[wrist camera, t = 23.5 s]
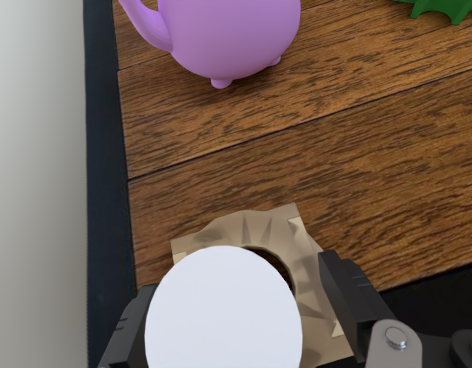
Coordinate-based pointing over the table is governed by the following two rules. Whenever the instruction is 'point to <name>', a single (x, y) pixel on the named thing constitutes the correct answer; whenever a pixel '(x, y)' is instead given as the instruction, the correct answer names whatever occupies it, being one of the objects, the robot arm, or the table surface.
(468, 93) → the table surface
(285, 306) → the tube
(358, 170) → the table surface
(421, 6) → the pipe clamp
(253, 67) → the teapot
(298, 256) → the socket pad
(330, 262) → the robot arm
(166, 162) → the table surface
